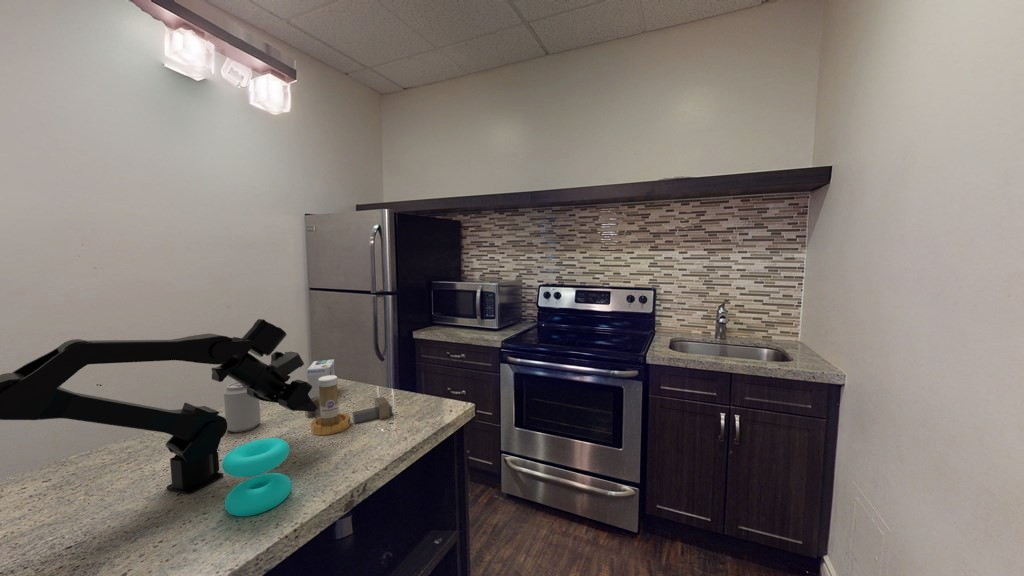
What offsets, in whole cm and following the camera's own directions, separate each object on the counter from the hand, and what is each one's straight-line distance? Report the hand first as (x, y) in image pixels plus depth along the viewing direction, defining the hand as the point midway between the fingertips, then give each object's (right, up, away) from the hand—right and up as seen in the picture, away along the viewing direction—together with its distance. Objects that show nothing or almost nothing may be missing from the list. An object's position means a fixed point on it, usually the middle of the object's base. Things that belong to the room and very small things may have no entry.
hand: (304, 406), depth 93 cm
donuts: (+6, -10, -25) cm, 27 cm away
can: (-20, -8, +7) cm, 23 cm away
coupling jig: (+3, -7, +11) cm, 13 cm away
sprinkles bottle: (+3, -8, +6) cm, 10 cm away
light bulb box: (-11, -6, +31) cm, 33 cm away
